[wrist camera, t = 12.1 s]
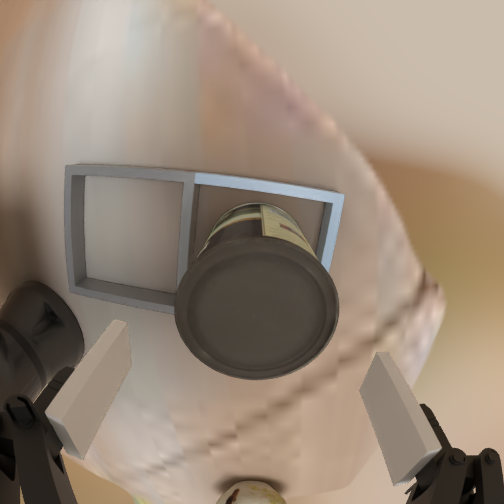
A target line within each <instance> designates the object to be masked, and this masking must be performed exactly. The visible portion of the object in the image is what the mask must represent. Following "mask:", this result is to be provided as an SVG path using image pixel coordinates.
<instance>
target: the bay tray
mask: <svg viewBox="0 0 504 504" xmlns="http://www.w3.org/2000/svg"><path fill="white" fill-rule="evenodd" d="M85 175H90V176H110V177H126V178H141V179H153V180H165V181H176V182H184V187H183V197H182V208H181V220H180V234H179V249H178V267H177V288H178V286H179V283H180V281H181V279H182V277H183V275H184V274H185V272H186V271H187V269H188V268H189V267H190V266H191V264H192V263H193V251H194V239H195V227H196V216H197V206H198V196H199V187H200V184H205V185H214V186H222V187H230V188H238V189H246V190H253V191H260V192H267V193H274V194H281V195H287V196H293V197H300V198H306V199H312V200H317V201H323V202H326V204H325V210H324V215H323V220H322V226H321V231H320V236H319V241H318V246H317V250H316V257H317V259H318V260H319V262H320V263H321V264H322V265H323V266H324V267H325V269H326V270H327V272H328V273H329V269H330V265H331V260H332V256H333V251H334V247H335V242H336V238H337V233H338V228H339V223H340V218H341V213H342V208H343V202H344V197H345V195H344V194H342V193H339V192H336V191H331V190H326V189H320V188H315V187H309V186H303V185H297V184H291V183H285V182H278V181H272V180H265V179H258V178H251V177H243V176H235V175H227V174H219V173H210V172H200V171H190V170H179V169H167V168H154V167H139V166H120V165H91V164H76V165H66V166H65V186H64V227H65V248H66V261H67V272H68V281H69V289H70V292H71V293H75V294H79V295H83V296H87V297H91V298H96V299H100V300H104V301H109V302H113V303H118V304H122V305H127V306H132V307H137V308H142V309H147V310H152V311H157V312H163V313H168V314H174V304H175V297H176V294H170V293H165V292H159V291H153V290H147V289H142V288H136V287H131V286H126V285H121V284H116V283H110V282H106V281H101V280H96V279H91V278H86V267H85V250H84V182H85ZM176 292H177V291H176ZM174 315H175V314H174Z"/></svg>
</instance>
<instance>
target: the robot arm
mask: <svg viewBox="0 0 504 504" xmlns="http://www.w3.org/2000/svg"><path fill="white" fill-rule="evenodd" d="M83 352H84V341H83V336H82V333H81V330H80V327H79V325H78V323H77V321H76V319H75V317H74V315H73V314H72V312H71V311H70V309H69V308H68V306H67V305H66V304H65V303H64V301H63V300H62V299H61V298H60V297H59V296H58V295H57V294H56V293H55V292H53V291H52V290H51V289H49V288H48V287H46V286H45V285H43V284H40V283H38V282H33V281H28V282H24V283H22V284H21V285H19V286H18V287H16V288H15V289H13V290H12V291H11V292H10V294H9V296H8V298H7V300H6V301H5V303H4V304H3V306H2V307H1V309H0V504H20V486H21V490H22V494H23V498H24V502H25V504H78V503H77V501H76V498H75V495H74V493H73V490H72V487H71V484H70V481H69V478H68V475H67V472H66V469H65V465H64V462H63V459H62V455H61V453H60V451H61V449H62V447H64V449H65V450H66V452H67V453H68V454H70V455H72V456H75V457H77V458H79V459H82V460H84V457H85V455H86V453H87V451H88V449H89V447H90V445H91V443H92V441H93V439H94V437H95V435H96V433H97V431H98V429H99V427H100V425H101V423H102V421H103V419H104V417H105V415H106V413H107V411H108V409H109V407H110V405H111V403H112V401H113V399H114V397H115V395H116V394H117V392H118V390H119V388H120V386H121V384H122V382H123V380H124V379H125V377H126V375H127V373H128V371H129V369H130V367H131V366H132V361H131V352H130V343H129V333H128V322H123V321H119V320H115V319H114V320H113V321H112V322H111V324H110V325H109V326H108V327H107V329H106V330H105V331H104V332H103V334H102V335H101V336H100V337H99V339H98V340H97V341H96V343H95V344H94V345H93V346H92V348H91V349H90V350H89V352H88V353H87V354H86V355H85V357H84V358H83V359H82V361H81V362H80V363H79V365H78V366H77V367H76V369H74V367H75V366H76V365H77V363H78V362H79V361H80V360H81V358H82V356H83ZM47 383H49V384H48V385H47V387H45V385H46V384H47ZM44 387H45V389H44V390H43V391H42V393H41V394H40V395H39V393H40V392H41V390H42V389H43V388H44ZM359 391H360V394H361V396H362V399H363V401H364V404H365V407H366V409H367V412H368V415H369V417H370V420H371V423H372V425H373V428H374V431H375V434H376V436H377V439H378V442H379V445H380V448H381V450H382V453H383V456H384V459H385V462H386V465H387V468H388V471H389V474H390V477H391V480H392V483H393V486H398V485H402V484H406V483H408V482H410V481H411V480H412V479H413V478H414V477H416V479H417V482H416V483H415V484H413V485H412V486H411V487H410V488H409V489H408V490H407V491H406V492H405V494H407V493H409V492H410V491H411V493H410V496H409V498H408V500H407V503H406V504H504V482H503V474H502V467H501V461H500V457H499V454H498V453H497V452H496V451H495V450H494V449H491V448H485V449H484V450H482V452H481V453H480V454H479V455H476V456H475V455H473V456H472V455H470V456H468V455H466V454H465V453H464V452H463V451H462V450H460V449H458V448H452V447H451V445H450V443H449V441H448V439H447V437H446V436H445V434H444V432H443V430H442V428H441V426H439V423H438V421H437V420H436V417H435V416H434V414H433V412H432V410H431V409H430V408H429V407H427V406H426V405H425V404H419V403H418V401H417V400H416V398H415V396H414V394H413V392H412V391H411V389H410V387H409V385H408V384H407V382H406V380H405V378H404V377H403V375H402V373H401V372H400V370H399V368H398V367H397V365H396V363H395V362H394V360H393V358H392V357H391V355H390V353H389V352H376V354H375V357H374V359H373V361H372V364H371V366H370V368H369V370H368V373H367V375H366V377H365V379H364V381H363V383H362V385H361V388H360V390H359ZM38 395H39V397H38V398H37V399H36V397H37V396H38ZM35 399H36V401H35V402H34V400H35ZM33 402H34V403H33ZM475 487H476V493H474V492H473V489H474V488H475Z"/></svg>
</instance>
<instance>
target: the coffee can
mask: <svg viewBox="0 0 504 504" xmlns="http://www.w3.org/2000/svg"><path fill="white" fill-rule="evenodd" d="M174 314H175V322H176V325H177V329H178V331H179V334H180V336H181V338H182V340H183V342H184V343H185V345H186V346H187V347H188V349H189V350H190V351H191V352H192V353H193V355H194V356H195V357H196V358H198V359H199V360H200V361H201V362H203V363H204V364H206V365H207V366H208V367H210V368H212V369H214V370H215V371H217V372H220V373H222V374H225V375H228V376H231V377H235V378H240V379H247V380H266V379H273V378H278V377H282V376H285V375H288V374H291V373H293V372H295V371H297V370H299V369H301V368H303V367H305V366H306V365H308V364H309V363H310V362H312V361H313V360H314V359H315V358H316V357H317V356H318V355H319V354H320V353H321V352H322V351H323V350H324V349H325V347H326V346H327V345H328V343H329V341H330V340H331V338H332V336H333V334H334V332H335V329H336V326H337V323H338V318H339V299H338V293H337V290H336V287H335V285H334V282H333V280H332V278H331V276H330V275H329V273H328V272H327V270H326V269H325V267H324V266H323V265H322V264H321V263H320V262H319V260H318V259H317V257H316V255H315V254H314V252H313V250H312V249H311V247H310V245H309V244H308V242H307V240H306V239H305V237H304V235H303V234H302V232H301V230H300V228H299V226H298V224H297V223H296V221H295V220H294V219H293V218H292V217H291V216H290V215H289V214H288V213H286V212H285V211H284V210H282V209H280V208H278V207H276V206H274V205H271V204H267V203H262V202H252V203H246V204H242V205H239V206H237V207H234V208H232V209H231V210H229V211H228V212H226V213H225V214H224V215H223V216H222V217H221V218H220V219H219V220H218V221H217V223H216V224H215V226H214V227H213V230H212V232H211V234H210V236H209V238H208V239H207V241H206V243H205V244H204V246H203V248H202V249H201V251H200V253H199V254H198V256H197V258H196V260H195V261H194V262H193V263H192V264H191V266H190V267H189V268H188V269H187V271H186V272H185V274H184V275H183V277H182V279H181V281H180V283H179V286H178V288H177V292H176V297H175V304H174Z"/></svg>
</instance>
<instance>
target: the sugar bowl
mask: <svg viewBox="0 0 504 504" xmlns="http://www.w3.org/2000/svg"><path fill="white" fill-rule="evenodd" d="M216 504H286V502H285V500H284V499H283V498H282V497H281V495H280V494H278V493H277V492H276V491H275V490H274V489H273V488H272V487H271V486H270V485H269V484H267V483H264V482H260V481H241V482H237V483H235V484H234V485H233V486H232V487H231V488H230V489H229V490H228V491H226V492H225V493H224V494H223V495H222V496H221V497H220V498H219V499H218V501H217V503H216Z"/></svg>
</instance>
